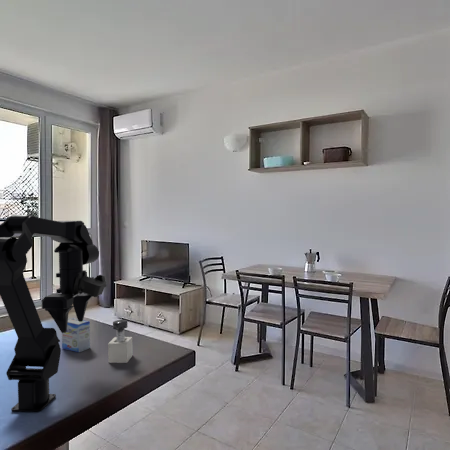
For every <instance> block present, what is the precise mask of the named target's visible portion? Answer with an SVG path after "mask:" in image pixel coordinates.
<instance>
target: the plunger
mask: <svg viewBox="0 0 450 450" xmlns="http://www.w3.org/2000/svg"><path fill="white" fill-rule="evenodd" d="M127 328H128V320H127V319H117V320H114V321H113V322H112V329H113V330H115V331H116V333H115V335H116V336H115V337H117V342H125V337H126V336H125V329H127Z"/></svg>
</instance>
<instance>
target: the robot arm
mask: <svg viewBox="0 0 450 450" xmlns="http://www.w3.org/2000/svg"><path fill="white" fill-rule="evenodd" d="M15 235H19V236H18V237H15ZM33 236H40V237H48V238H50V239H51V240H52V241H55V242H57V243H59V244H58V246H56V247H55V249H54V250H53V251H54V253H58V267H59V268H58V272H56V273H55V278H59V288H56V293H51V294H48V295H46V296H45V297H43V298H42V299H41V309H42V310H43V309H44V310H45V311H46V312H48V314H49V315H50V316H51V318H52V319H53V320H54V322H55V324H56V326H57V327H58V329H59V330H60V332H61V334H62V333H66V331H67V324H68V319H69V313H70V312H71V310H72V309H74V313H75V315H76V319H78V321H79V322H82V321H83V320H84V317H85V313H86V310H87V307H88V303H89V301H90V300H91V299H92V298H93V297H94V298H98V297H99V296H101V295H103V292H104V290H105V288H107V281H106V278H105V277H106V276H105V275H103V274H98V275H96V277H94V276H91V277H90V276H88V272H87V270H85V269H84V266H85V265H87V264H92V263H94V262H96V261H97V260H98V259H99V255H100V251H99V249H98V247H97V246H96V245H95V244H94V242H93V240H92V237H91V235H90V232H89V229H88V228H87V226H86V225H85V223H84V221H82V220H54V219H47V218H43V217H38V216H35V215H32V214H12V215H10V216H7V217H6V219H5V220H4V221H3V222H2V223H0V299H1V301H2V303H3V305H4V307H5V310H6V313H7V315H8V318H9V319H10V322H11V324H12V327H13V329H14V332H15V333H16V337H17V340H16V343H15V346H14V348H13V349H14V357H13V359H12V360H11V362H10V365H9V366H8V368H7V370H6V373H5V374H6V378H7V379H8V381H17V400H18V401H17V403H16V404H15V405H14V406H13V407H11V412H29V413H31V412H32V413H33V412H34V413H36V412H37V413H38V412H42V411H43V410H44V409H45V408H46V407H47V406H48V405H49V404H50V403H51V402H52V401H53V400H54V399H55V398H56V396H57V395H56V393H50V378H52V377H53V376H54V375H56V374H57V373H58V371H59V366H60V360H61V359H60V358H61V353H62V349H61V348H62V347H61V346H60V342H61V340H60V339H59V337H58V333H57V330H56V329H55V328H54V327H44V326H43V324H42V321H41V319H40V316H39V313H38V311H37V307H36V305H35V302H34V300H33V297H32V294H31V291H30V289H29V286H28V284H27V281H26V279H25V276H24V272H25V270H26V267H27V266H26V265H27V264H28V257H27V254H28V253H29V251H30V250H31V249H32V247H33V245H34V242H33ZM29 367H30V368H29ZM32 367H35V368H32ZM37 367H38V368H37Z"/></svg>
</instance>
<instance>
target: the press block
mask: <svg viewBox="0 0 450 450" xmlns="http://www.w3.org/2000/svg"><path fill="white" fill-rule="evenodd" d="M124 337H125V342H117V336H114V337H113V338H112V339H111V340H110V341H109V342H108V343H107V347H108V348H107V350H108V351H107V352H108V363H109V364H128V362H129V361H130V360H131V358H132V357H133V356H132V355H133V337H132V336H124Z"/></svg>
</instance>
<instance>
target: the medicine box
mask: <svg viewBox="0 0 450 450" xmlns="http://www.w3.org/2000/svg"><path fill="white" fill-rule="evenodd" d="M90 322H91V321H90V320H89V321H88V320H84V319H83V321H82V322H79V321H78V319H77V318H74V317H73V318H68V324H67V331H66V333H62V332H61V348H62V349H63V350H67V351H72V352H75V353H82V352H84V351H87V350H88V349H90V348H91V323H90Z"/></svg>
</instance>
